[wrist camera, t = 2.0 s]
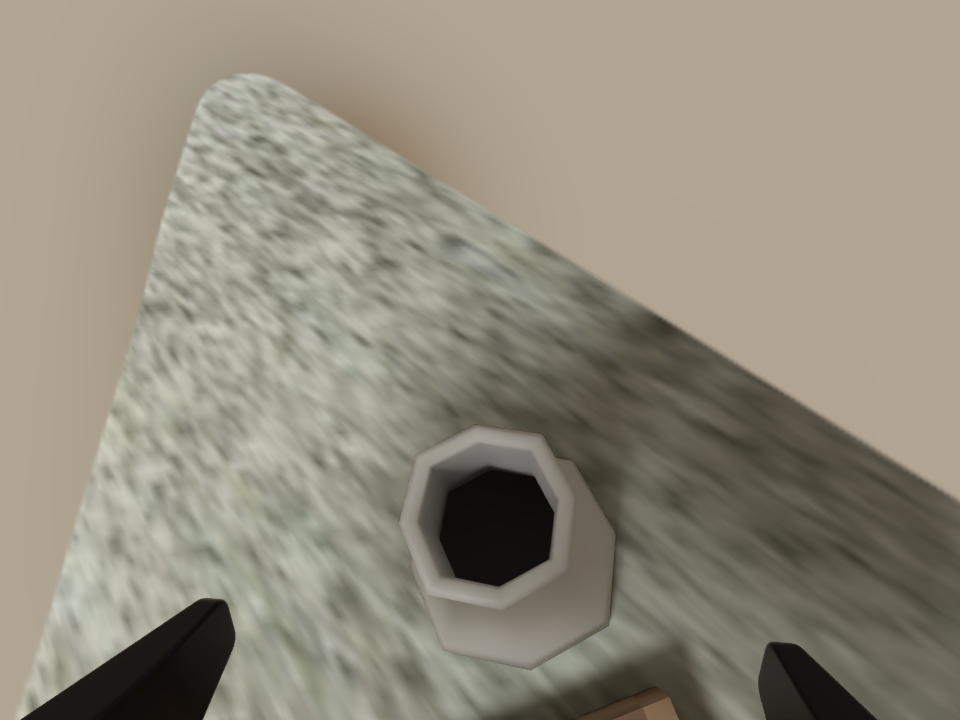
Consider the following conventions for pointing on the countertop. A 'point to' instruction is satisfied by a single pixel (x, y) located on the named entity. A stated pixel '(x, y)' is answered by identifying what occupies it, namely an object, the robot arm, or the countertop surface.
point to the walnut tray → (637, 708)
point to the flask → (507, 547)
